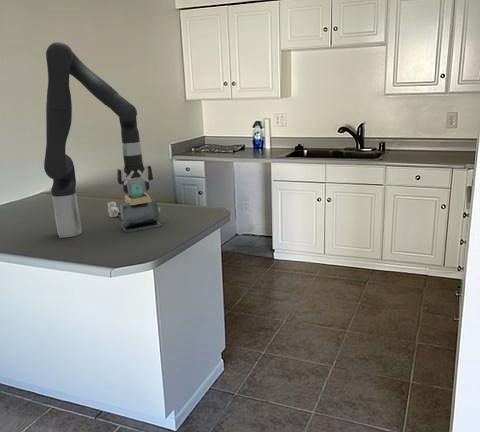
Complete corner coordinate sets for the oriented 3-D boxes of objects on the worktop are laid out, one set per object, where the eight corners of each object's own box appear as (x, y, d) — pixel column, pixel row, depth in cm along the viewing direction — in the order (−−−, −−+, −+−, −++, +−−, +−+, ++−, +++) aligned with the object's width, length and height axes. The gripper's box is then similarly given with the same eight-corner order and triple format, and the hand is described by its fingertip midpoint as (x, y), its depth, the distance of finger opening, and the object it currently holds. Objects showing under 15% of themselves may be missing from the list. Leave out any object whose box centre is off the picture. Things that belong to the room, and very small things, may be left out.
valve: (104, 217, 220) (119, 221, 212) (102, 203, 218) (118, 207, 210) (116, 214, 225) (132, 217, 217) (115, 200, 223) (130, 203, 215)
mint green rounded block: (129, 199, 200) (127, 182, 198) (141, 197, 202) (139, 181, 200) (133, 202, 194) (131, 185, 192) (145, 200, 196) (143, 183, 194)
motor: (126, 232, 195) (122, 200, 191) (120, 226, 204) (116, 196, 200) (164, 225, 202) (161, 194, 198) (157, 220, 210) (154, 190, 207)
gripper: (116, 156, 187) (121, 196, 192) (151, 152, 193) (155, 191, 198) (112, 154, 194) (117, 192, 199) (146, 150, 200) (151, 188, 204)
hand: (136, 192), depth 198 cm, fingers open, 8 cm apart
